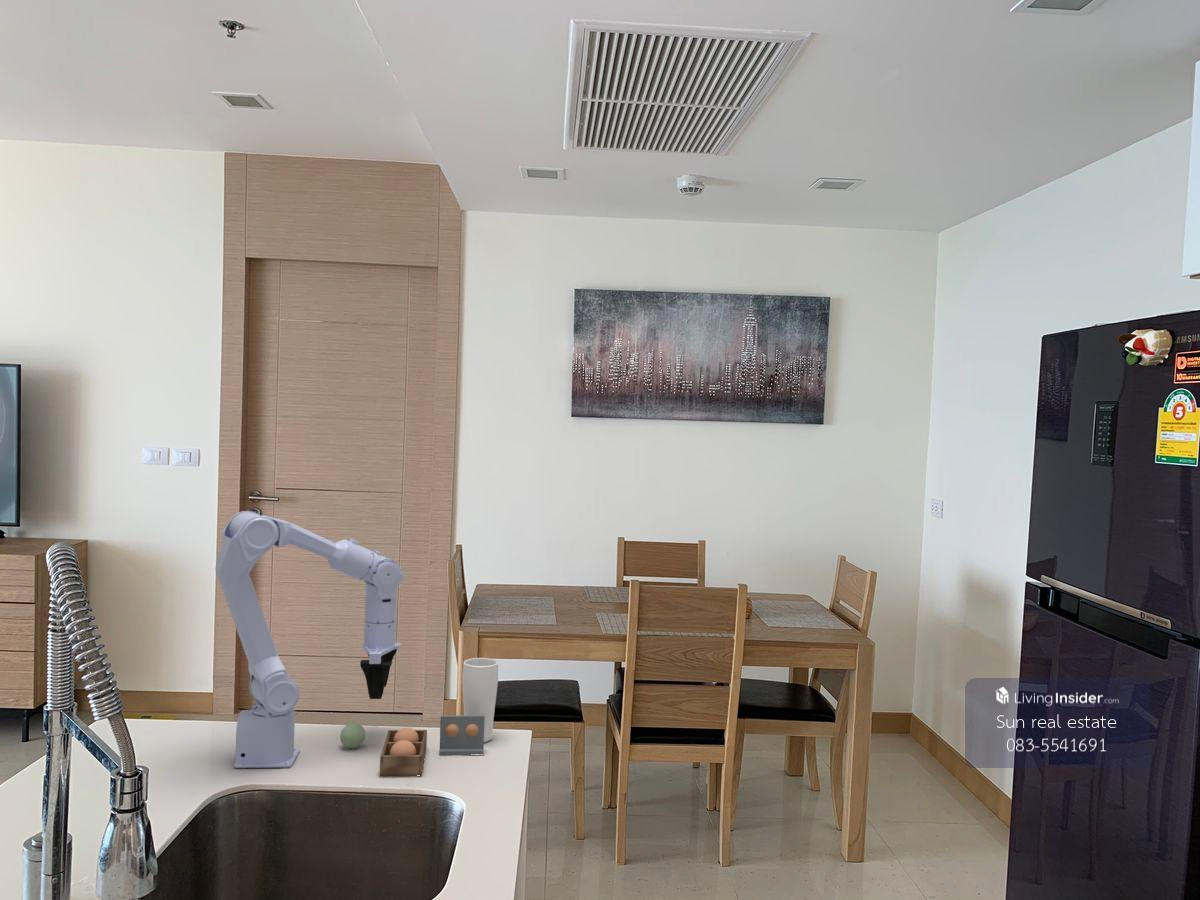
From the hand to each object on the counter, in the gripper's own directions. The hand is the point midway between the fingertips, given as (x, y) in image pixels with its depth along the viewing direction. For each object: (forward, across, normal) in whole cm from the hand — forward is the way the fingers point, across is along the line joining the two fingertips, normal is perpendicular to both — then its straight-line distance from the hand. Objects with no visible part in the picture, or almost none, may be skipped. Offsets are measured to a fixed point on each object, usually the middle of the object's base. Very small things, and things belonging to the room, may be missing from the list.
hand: (378, 692), depth 172 cm
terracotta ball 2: (+7, -14, -6) cm, 17 cm away
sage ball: (+7, -3, +4) cm, 9 cm away
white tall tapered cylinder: (+10, +1, -19) cm, 21 cm away
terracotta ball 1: (+7, -7, -6) cm, 12 cm away
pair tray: (+9, -10, -6) cm, 15 cm away
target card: (+9, -6, -16) cm, 20 cm away
